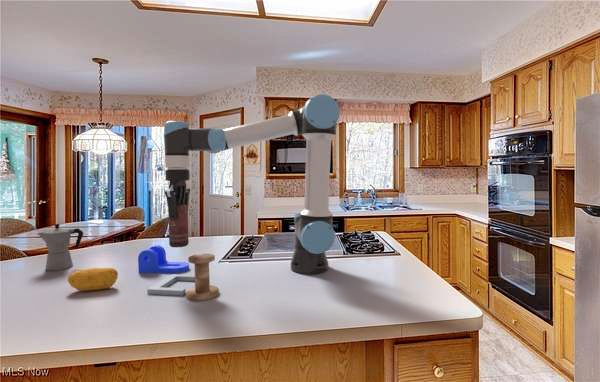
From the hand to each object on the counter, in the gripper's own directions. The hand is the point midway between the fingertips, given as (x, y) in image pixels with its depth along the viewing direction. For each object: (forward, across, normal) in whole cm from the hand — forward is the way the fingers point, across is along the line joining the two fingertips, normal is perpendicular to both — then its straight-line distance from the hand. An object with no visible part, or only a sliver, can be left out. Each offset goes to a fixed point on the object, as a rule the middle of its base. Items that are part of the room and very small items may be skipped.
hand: (179, 238), depth 110 cm
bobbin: (+17, +6, +10) cm, 20 cm away
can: (+3, 0, 0) cm, 3 cm away
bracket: (+17, -17, -15) cm, 28 cm away
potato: (+17, +6, -28) cm, 33 cm away
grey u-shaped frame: (+17, 0, -2) cm, 17 cm away
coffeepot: (+17, -15, -60) cm, 64 cm away
